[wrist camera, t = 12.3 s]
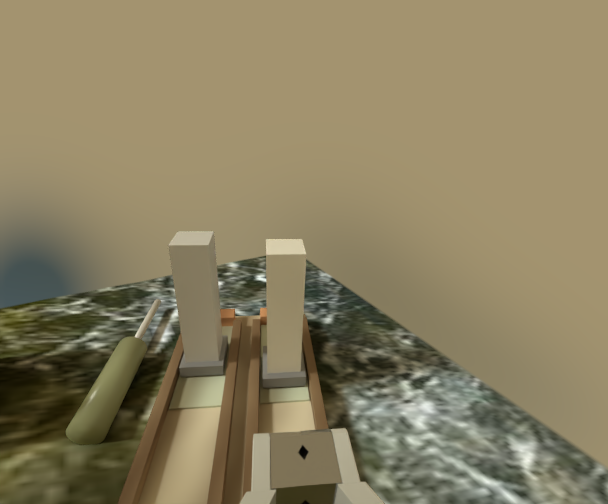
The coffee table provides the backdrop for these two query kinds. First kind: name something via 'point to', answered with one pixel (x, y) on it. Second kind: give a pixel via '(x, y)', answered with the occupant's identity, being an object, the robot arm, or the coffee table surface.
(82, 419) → the screwdriver
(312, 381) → the wooden double track board
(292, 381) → the beige rectangular pillar
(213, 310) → the pillar on grey base
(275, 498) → the robot arm
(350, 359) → the coffee table surface
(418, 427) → the coffee table surface
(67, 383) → the coffee table surface
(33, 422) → the coffee table surface
